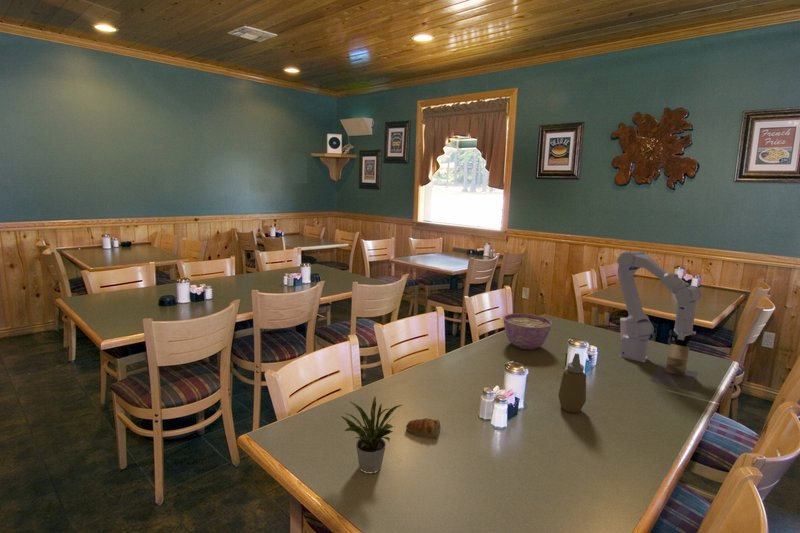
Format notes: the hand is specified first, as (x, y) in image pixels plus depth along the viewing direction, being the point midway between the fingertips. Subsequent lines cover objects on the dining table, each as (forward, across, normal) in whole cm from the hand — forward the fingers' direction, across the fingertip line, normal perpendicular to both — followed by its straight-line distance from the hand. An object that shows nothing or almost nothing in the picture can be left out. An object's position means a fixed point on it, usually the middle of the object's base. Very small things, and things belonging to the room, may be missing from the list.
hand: (680, 353), depth 170 cm
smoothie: (+8, +29, +24) cm, 38 cm away
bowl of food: (+7, -11, +56) cm, 57 cm away
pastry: (+8, -96, +51) cm, 108 cm away
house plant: (+8, -116, +52) cm, 127 cm away
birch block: (+6, +1, 0) cm, 6 cm away
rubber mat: (+8, -4, 0) cm, 9 cm away
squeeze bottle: (+8, -55, +24) cm, 60 cm away
